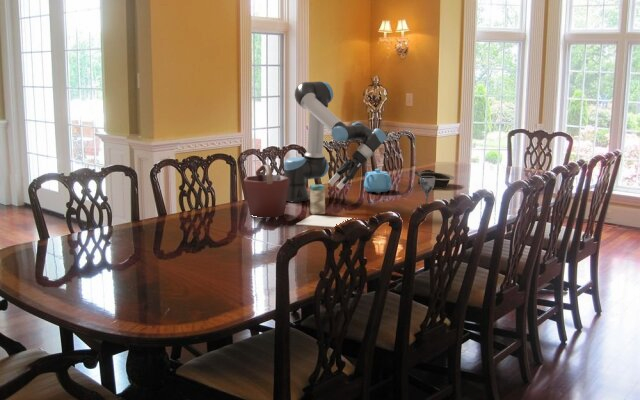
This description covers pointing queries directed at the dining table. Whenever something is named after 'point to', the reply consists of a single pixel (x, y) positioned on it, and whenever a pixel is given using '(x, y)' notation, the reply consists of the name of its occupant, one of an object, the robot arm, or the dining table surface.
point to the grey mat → (322, 221)
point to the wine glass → (427, 184)
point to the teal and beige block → (317, 199)
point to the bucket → (266, 193)
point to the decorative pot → (377, 181)
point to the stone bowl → (436, 178)
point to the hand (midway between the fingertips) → (334, 185)
